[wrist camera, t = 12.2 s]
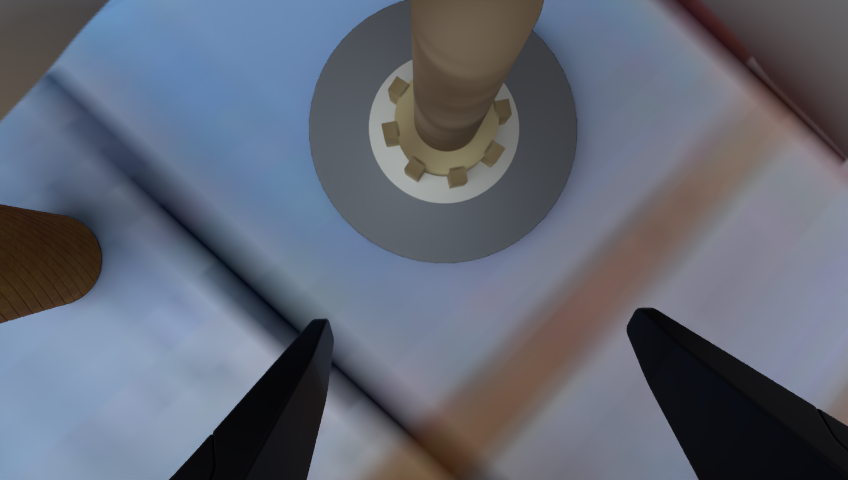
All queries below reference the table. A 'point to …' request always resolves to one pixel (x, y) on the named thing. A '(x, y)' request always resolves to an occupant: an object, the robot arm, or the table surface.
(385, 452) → the table surface
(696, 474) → the robot arm
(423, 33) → the gear
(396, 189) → the disc
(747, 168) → the table surface
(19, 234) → the disposable coffee cup
